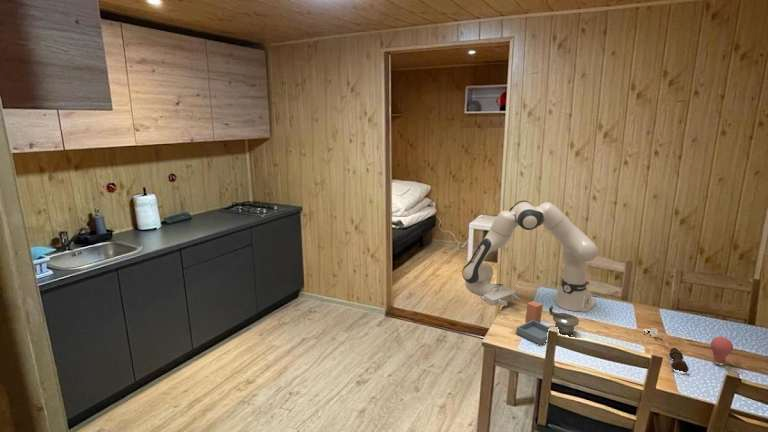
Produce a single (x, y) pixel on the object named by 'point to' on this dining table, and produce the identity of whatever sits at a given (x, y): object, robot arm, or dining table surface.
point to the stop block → (534, 311)
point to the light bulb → (721, 348)
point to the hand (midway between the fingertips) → (512, 302)
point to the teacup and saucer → (652, 331)
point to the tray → (533, 332)
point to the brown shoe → (678, 360)
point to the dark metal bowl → (564, 322)
